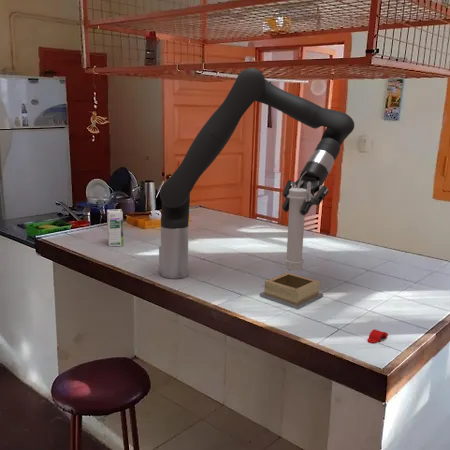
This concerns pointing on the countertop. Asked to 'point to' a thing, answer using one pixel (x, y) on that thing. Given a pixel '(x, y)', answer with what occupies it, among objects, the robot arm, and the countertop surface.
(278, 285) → the socket
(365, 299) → the countertop surface
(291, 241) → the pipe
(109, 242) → the syrup box
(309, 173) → the robot arm
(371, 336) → the pipe clamp
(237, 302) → the countertop surface
